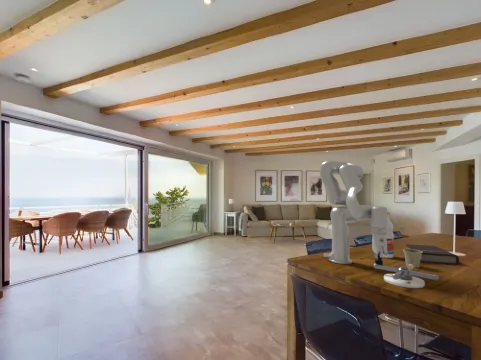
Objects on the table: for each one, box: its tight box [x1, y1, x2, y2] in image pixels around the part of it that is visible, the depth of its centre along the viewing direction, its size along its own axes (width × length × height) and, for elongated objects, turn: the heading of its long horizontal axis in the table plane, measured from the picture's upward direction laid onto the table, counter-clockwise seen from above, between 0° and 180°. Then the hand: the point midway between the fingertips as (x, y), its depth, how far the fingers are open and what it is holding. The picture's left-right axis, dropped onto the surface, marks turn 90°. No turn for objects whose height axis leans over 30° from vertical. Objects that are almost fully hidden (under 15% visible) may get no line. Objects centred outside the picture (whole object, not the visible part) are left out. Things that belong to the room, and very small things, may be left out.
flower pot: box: [402, 248, 423, 269], centre depth 156 cm, size 9×9×9 cm
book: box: [405, 243, 460, 266], centre depth 178 cm, size 28×20×6 cm
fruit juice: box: [383, 211, 395, 259], centre depth 180 cm, size 9×9×28 cm
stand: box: [383, 273, 426, 289], centre depth 128 cm, size 16×16×2 cm
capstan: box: [372, 262, 440, 281], centre depth 128 cm, size 26×26×5 cm
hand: (378, 267), depth 141 cm, fingers closed
